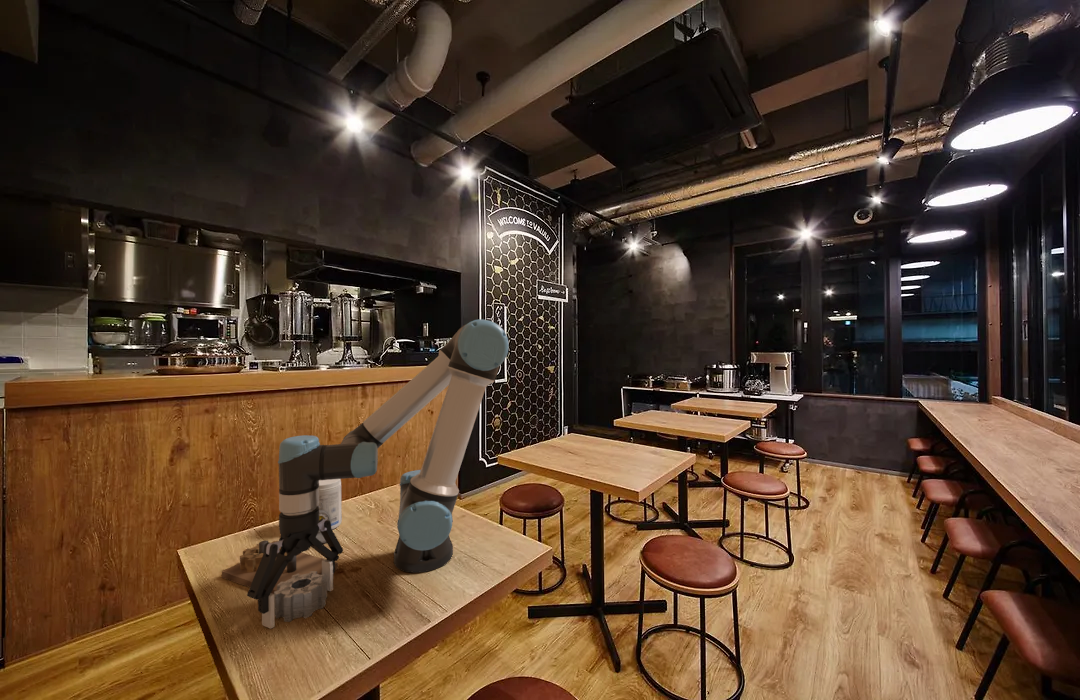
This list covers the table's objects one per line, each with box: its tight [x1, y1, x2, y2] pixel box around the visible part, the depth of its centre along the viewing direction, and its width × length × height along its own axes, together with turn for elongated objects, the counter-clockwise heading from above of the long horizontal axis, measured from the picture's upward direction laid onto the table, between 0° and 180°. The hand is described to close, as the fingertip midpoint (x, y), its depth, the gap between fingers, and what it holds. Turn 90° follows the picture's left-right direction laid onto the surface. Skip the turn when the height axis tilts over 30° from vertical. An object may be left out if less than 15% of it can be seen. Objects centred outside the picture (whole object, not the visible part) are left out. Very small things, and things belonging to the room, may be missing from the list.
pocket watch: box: [316, 502, 336, 544], centre depth 121 cm, size 8×8×10 cm
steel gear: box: [274, 571, 328, 623], centre depth 90 cm, size 10×10×5 cm
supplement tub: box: [319, 479, 343, 530], centre depth 129 cm, size 10×10×15 cm
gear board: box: [221, 539, 339, 594], centre depth 103 cm, size 23×14×6 cm, turn 66°
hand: (299, 606), depth 90 cm, fingers open, 13 cm apart
